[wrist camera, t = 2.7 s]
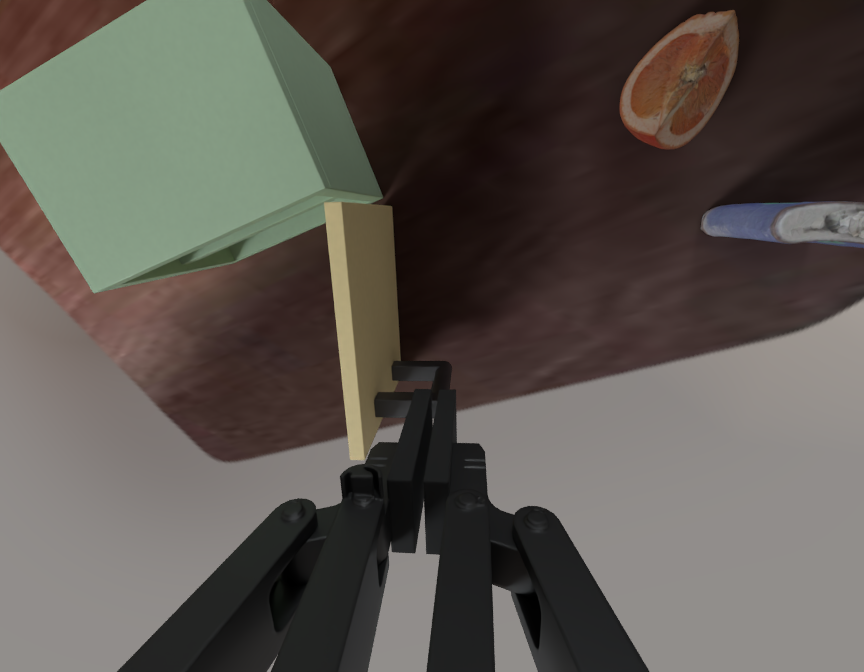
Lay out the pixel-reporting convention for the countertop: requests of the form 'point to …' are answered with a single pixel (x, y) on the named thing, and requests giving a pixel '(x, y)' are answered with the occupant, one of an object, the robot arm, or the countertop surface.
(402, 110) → the countertop surface
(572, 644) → the robot arm
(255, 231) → the cupboard
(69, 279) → the countertop surface
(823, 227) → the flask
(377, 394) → the door
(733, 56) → the fruit slice
